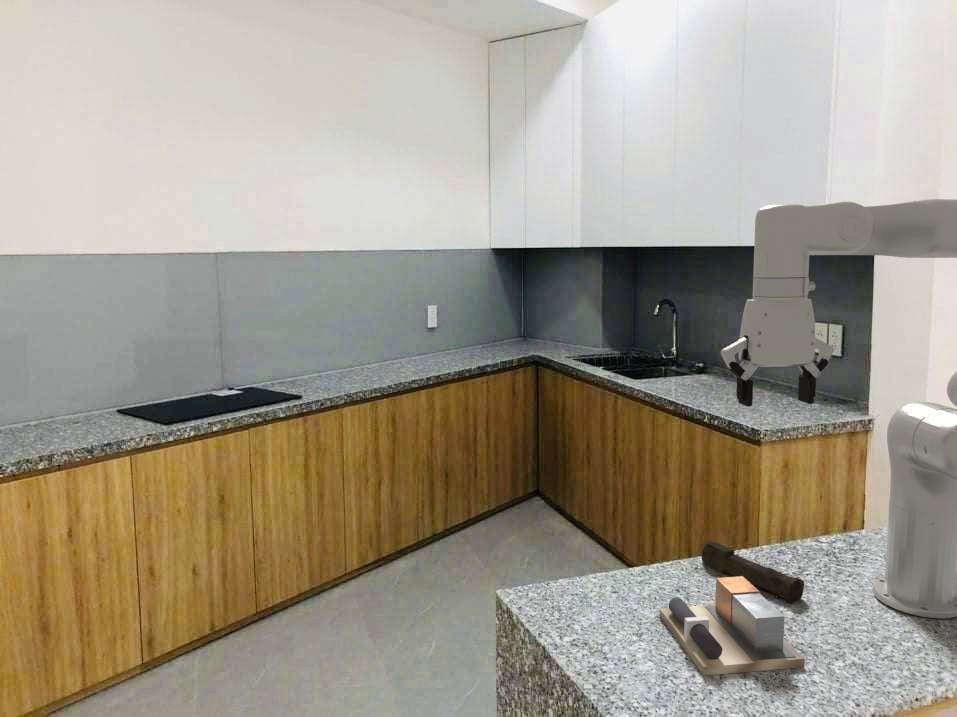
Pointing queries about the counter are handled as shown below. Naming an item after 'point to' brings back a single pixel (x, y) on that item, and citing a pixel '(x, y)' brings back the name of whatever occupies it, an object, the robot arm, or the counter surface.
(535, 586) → the counter surface
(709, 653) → the rod
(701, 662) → the board
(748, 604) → the grey and copper block
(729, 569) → the hand tool
